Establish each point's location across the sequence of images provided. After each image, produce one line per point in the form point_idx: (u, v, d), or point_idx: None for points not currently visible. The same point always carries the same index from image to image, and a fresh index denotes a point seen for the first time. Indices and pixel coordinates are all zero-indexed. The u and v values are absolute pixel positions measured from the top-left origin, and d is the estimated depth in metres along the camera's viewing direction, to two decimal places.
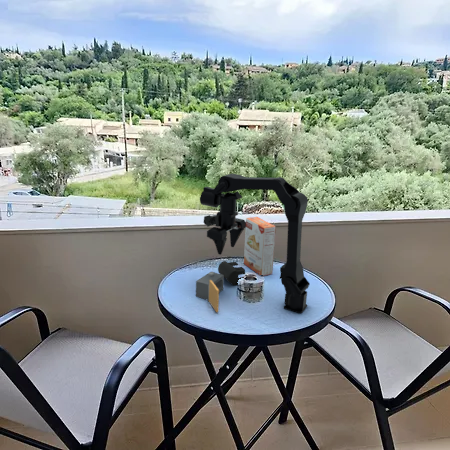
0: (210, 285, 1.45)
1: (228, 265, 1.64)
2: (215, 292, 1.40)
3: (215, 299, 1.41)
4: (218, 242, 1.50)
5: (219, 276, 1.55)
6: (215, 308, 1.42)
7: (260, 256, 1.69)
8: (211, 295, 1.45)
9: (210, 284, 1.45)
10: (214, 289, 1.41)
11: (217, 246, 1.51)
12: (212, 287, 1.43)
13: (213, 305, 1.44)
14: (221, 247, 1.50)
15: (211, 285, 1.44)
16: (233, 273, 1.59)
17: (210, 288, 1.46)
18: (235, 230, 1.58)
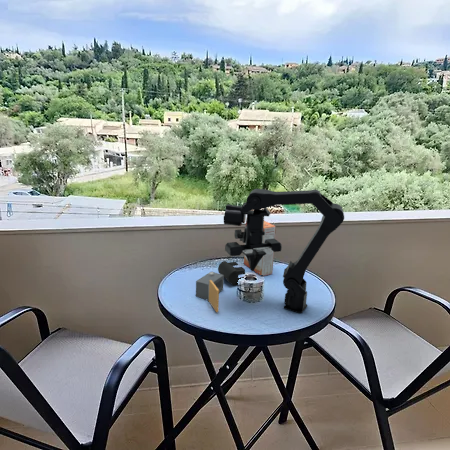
0: (210, 285, 1.45)
1: (228, 265, 1.64)
2: (215, 292, 1.40)
3: (215, 299, 1.41)
4: (249, 257, 1.45)
5: (219, 276, 1.55)
6: (215, 308, 1.42)
7: None
8: (211, 295, 1.45)
9: (210, 284, 1.45)
10: (214, 289, 1.41)
11: (248, 261, 1.46)
12: (212, 287, 1.43)
13: (213, 305, 1.44)
14: (250, 263, 1.44)
15: (211, 285, 1.44)
16: (233, 273, 1.59)
17: (210, 288, 1.46)
18: (256, 253, 1.44)
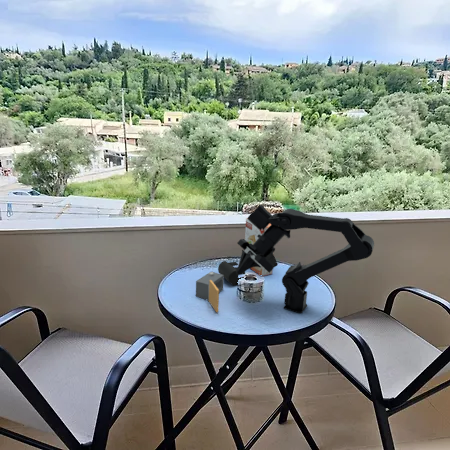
0: (210, 285, 1.45)
1: (228, 265, 1.64)
2: (215, 292, 1.40)
3: (215, 299, 1.41)
4: None
5: (219, 276, 1.55)
6: (215, 308, 1.42)
7: None
8: (211, 295, 1.45)
9: (210, 284, 1.45)
10: (214, 289, 1.41)
11: None
12: (212, 287, 1.43)
13: (213, 305, 1.44)
14: None
15: (211, 285, 1.44)
16: (233, 273, 1.59)
17: (210, 288, 1.46)
18: None
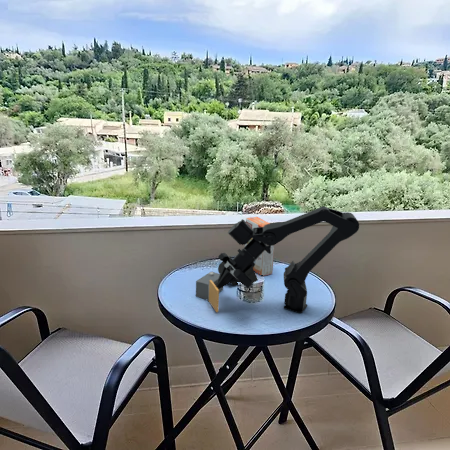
0: (210, 285, 1.45)
1: None
2: (215, 292, 1.40)
3: (215, 299, 1.41)
4: None
5: None
6: (215, 308, 1.42)
7: (260, 256, 1.69)
8: (211, 295, 1.45)
9: (210, 284, 1.45)
10: (214, 289, 1.41)
11: None
12: (212, 287, 1.43)
13: (213, 305, 1.44)
14: None
15: (211, 285, 1.44)
16: None
17: (210, 288, 1.46)
18: None
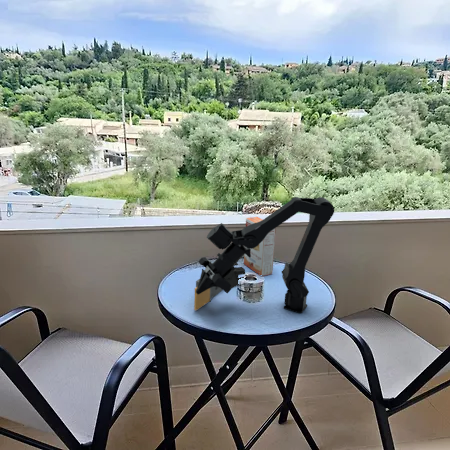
0: None
1: None
2: None
3: None
4: None
5: None
6: None
7: (260, 256, 1.69)
8: None
9: None
10: None
11: None
12: None
13: None
14: None
15: None
16: None
17: None
18: None
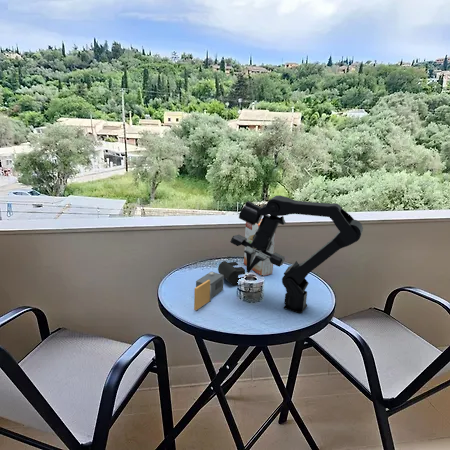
0: None
1: (228, 265, 1.64)
2: None
3: None
4: None
5: (219, 276, 1.55)
6: None
7: None
8: None
9: None
10: None
11: None
12: None
13: None
14: None
15: None
16: (233, 273, 1.59)
17: None
18: None
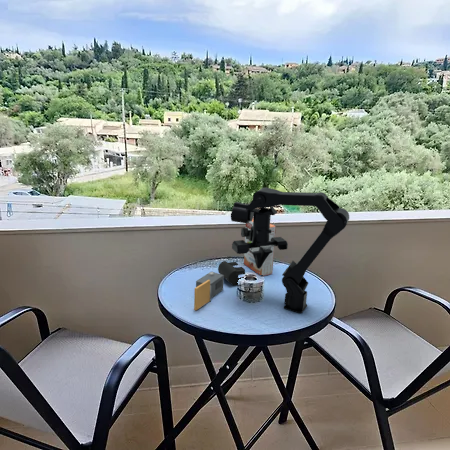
0: None
1: (228, 265, 1.64)
2: None
3: None
4: (255, 255, 1.47)
5: (219, 276, 1.55)
6: None
7: None
8: None
9: None
10: None
11: (255, 259, 1.48)
12: None
13: None
14: (257, 261, 1.46)
15: None
16: (233, 273, 1.59)
17: None
18: (262, 251, 1.46)
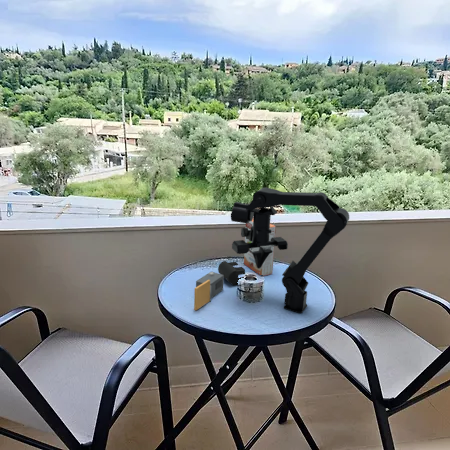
0: None
1: (228, 265, 1.64)
2: None
3: None
4: (255, 255, 1.47)
5: (219, 276, 1.55)
6: None
7: None
8: None
9: None
10: None
11: (255, 259, 1.48)
12: None
13: None
14: (257, 261, 1.46)
15: None
16: (233, 273, 1.59)
17: None
18: (262, 251, 1.46)
